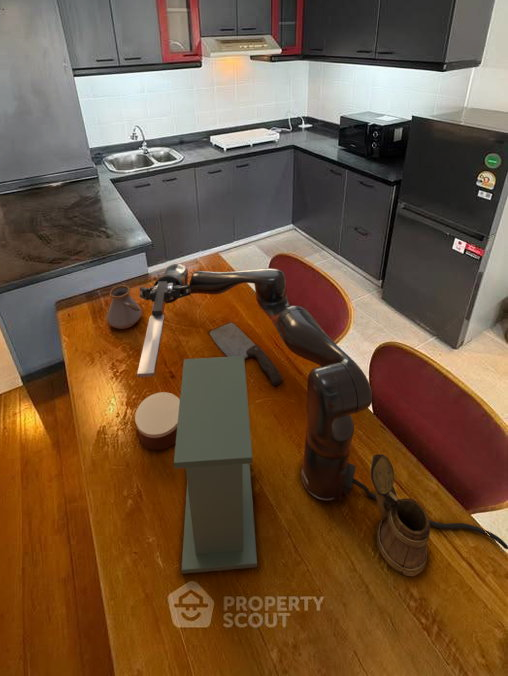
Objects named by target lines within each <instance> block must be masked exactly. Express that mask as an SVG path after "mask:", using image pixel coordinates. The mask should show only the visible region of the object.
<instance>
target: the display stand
mask: <svg viewBox="0 0 508 676" xmlns="http://www.w3.org/2000/svg"><path fill="white" fill-rule="evenodd" d="M245 360H246V359H245ZM245 360H244V356H234V357H227V356H218V357H217V356H216V357H199V358H184V359H183V365H182V375H181V384H180V393H179V394H180V395H179V400H180V404H179V414H178V424H177V434H176V443H174V444H175V446H174V457H173V468H174V469H175V470H177V469H178V470H179V469H185V475H186V476H185V477H186V493H185V495H186V497H185V508H184V509H185V512H184V523H183V524H184V525H183V526H184V527H183V541H182V555H181V556H182V557H181V574H182V575H185V574H194V573H195V574H196V573H207V572H216V571H217V572H218V571H231V570H240V569H242V570H243V569H251V568H252V569H253V568H258V557H257V543H256V530H255V516H254V503H253V501H254V500H253V490H252V476H251V464H253V446H252V445H253V444H252V435H251V423H250V411H249V397H248V386H247V384H248V383H247V374H246V373H247V371H246V362H245Z"/></svg>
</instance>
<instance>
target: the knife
mask: <svg viewBox="0 0 508 676" xmlns="http://www.w3.org/2000/svg"><path fill="white" fill-rule="evenodd" d="M167 288H168V283H167V281H162V282H158V286H157V291H156V295H155V299H154V302H153V304H152V309H151V315H149V319H148V324H147V328H146V331H145V336H144V340H143V344H142V345H143V346H142V350H141V355H140V359H139V363H138V367H137V372H136V376H137V378H151V377H155V376H156V369H157V365H158V358H159V353H160V347H161V342H162V337H163V331H164V326H165V325H164V324H165V320H166V319H165V314H164V312H165V308H166V303H165V302H166V301H164V291H165V290H167Z"/></svg>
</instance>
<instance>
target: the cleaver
mask: <svg viewBox="0 0 508 676" xmlns="http://www.w3.org/2000/svg"><path fill="white" fill-rule="evenodd" d="M209 335H210V337H211V338H212V340H213V341H214V343H215V344H216V346H217V347H218V348H219V349H220V351H221V352H222V354H224V355H225V357H234V356H244V360H247V359H248V358H249V359H250V358H254V359H256V360H257V362H258V365H259V368H260V369H261V371H262V372H263V373H264V374H265V375H267V377H268V378H269V381H270V383H271V385H272V386H273V387H277V386H279V385H281V384H282V383H283V377H282V375H281V373H280V371H279V370H278V369H277V367H276V365H275V364H274V363H273V361H272V360H271V359H270V357H269V356H268V354H267V353H266V352H265V351H264V350H263V349H262V348H261V346H259V345H258V344H255V343H254V342H253V341H252V340H251V338H249V337H248V335H246V334H245V333H244V331H243V330H241V329H240V328H239V326H237V325H236V324H235V323H234V322H231V321H230V322H229V323H226V324H224V325H222V326H219V327H217V328H213V330H210V331H209Z"/></svg>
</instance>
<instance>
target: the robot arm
mask: <svg viewBox="0 0 508 676" xmlns="http://www.w3.org/2000/svg"><path fill="white" fill-rule="evenodd" d="M162 281H167V283H168V288H167V290H165V291H164V301H166V302H165V304H172V303H175V302H176V301H177V300H178V299H181V298H184V297H188V296H191V295H195V294H200V295H213V296H215V295H222V294H224V293H226V292H228V291H230V290H232V289H233V288H235V287H237V286H239V285H242V284H254V290H255V291H254V292H255V300H256V303H257V305H258V307H260V309H261V310H262V311H263V312H264V313H265V314H266V315H267V316H268V318H269V319H270V320H271V322H272V325H273V326H274V328H275V329H276V331H277V332H278V335H279V337H280V338H281V340H282V341H283V343H284V344H285V346H286V347H287V348H288V350H289V351H290V352H292V353H293V354H295V355H297V356H298V357H300V358H303V360H306V361H309V362H311V363H314V364H316V365H318V367H317V366H316V367H313V368H312V369H310V371H309V373H308V377H307V387H306V390H307V392H306V415H307V416H306V417H307V418H306V419H307V422H306V423H307V424H306V433H305V441H304V451H303V460H302V467H301V482H302V485H303V487H304V489H305V490H306V492H307V493H308V494H309V495H310V496H311V497H313V498H315V500H317V501H320V502H333V501H338V502H340V501H341V500H342V495H343V494H345V495H348V496H351V493H352V488H353V484H354V486H355V485H356V486H357V487H359V488H360V489H361V490H363V491H364V493H365V494H366V495H367V496H368V497H369V498H371V499H372V500H374V501H376V502H377V500H376V494H375V493H373V492H371V491H370V489H369V488H368V487H367V486H366V485H365V484H363V483H362V482H360V481H359V480H357V479H356V478H354V477H355V472H356V465H354V464H352V463H350V462H349V459H350V455H351V454H350V453H351V447H352V442H353V438H354V434H355V433H354V432H355V424H354V423H355V422H354V420H353V417H352V415H354V414H358V413H361V412H363V411H365V410H367V409H368V408H370V407H371V405H372V403H373V391H372V387H371V385H370V382H369V379H368V378H367V376H366V374H365V373H364V371H363V370H362V368H360V366H359V365H358V363H357V362H355V360H353V359H352V357H350V356H349V355H348V354H347V353H346V352H345V351H344V350H343V349H342V348H341V347H339V346H338V344H337V343H335V341H333V340H332V339H331V337H330V336H329V335H328V334H327V333H326V332H325V330H323V328H322V327H321V326H320V324H319V323H318V322H317V320H316V319H315V318H314V316H312V314H311V313H310V312H309V311H308V310H307V309H306V308H304V307H303V306H300V305H291V304H290V302H289V300H288V292H287V282H286V274H285V273H284V272H283V271H282V270H281V269H278V268H271V267H269V268H267V267H266V268H255V269H243V270H242V269H241V270H232V271H207V270H196V271H195V272H193V273H192V275H191V277H190V280H189V269H188V267H187V266H186V265H184V264H181V263H172V264H171V265H169V266H167V267H166V268H165V270H164V274H163V275H161V276H160V277H159V278H157V279H156V281H155V282H154V283H153V286H150V288H148V287H145V286H141V287H139V298H141V299H143V300H144V301H145V300H146V301H151V302H153V303H154V299H155V295H156V291H157V286H158V282H162ZM384 502H385V504H386V506H388V505H387V503H386V501H384ZM429 524H430V527H433V528H436V529H441V530H468V531H472V532H475V533H479V534H481V535H484V536H487V537H489V536H488V535H487V533H488V534H489V535H490V537H491V539H492V540H494V541H495V542H497V543H498V544H499V545H501V546H502V548H503V549H505V550H508V545H507V543H506V542H505V541H504V540H503V539H502V538H501V537H500V536H498V535H496V534H494V532H491V531H489V530H487V529H484V528H483V527H482V528H481V527H479V526H475V525H472V524H469V523H463V522H455V523H441V522H436V521H433V520H430V519H429ZM483 529H484V530H485V531H486V532H487V533H485V531H484V530H483ZM490 537H489V538H490Z"/></svg>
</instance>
